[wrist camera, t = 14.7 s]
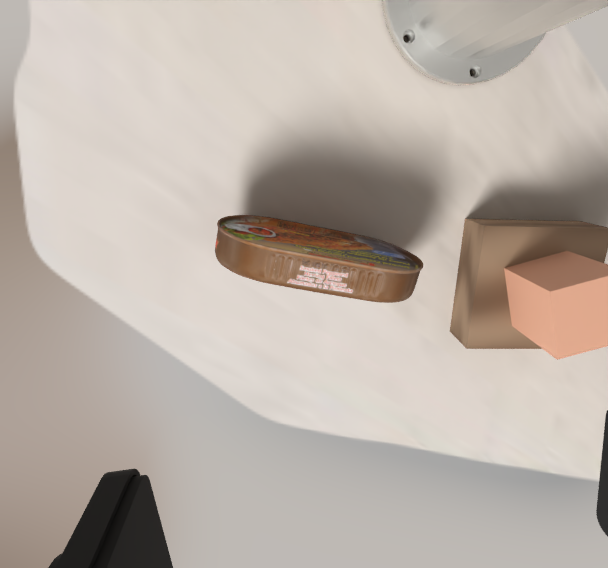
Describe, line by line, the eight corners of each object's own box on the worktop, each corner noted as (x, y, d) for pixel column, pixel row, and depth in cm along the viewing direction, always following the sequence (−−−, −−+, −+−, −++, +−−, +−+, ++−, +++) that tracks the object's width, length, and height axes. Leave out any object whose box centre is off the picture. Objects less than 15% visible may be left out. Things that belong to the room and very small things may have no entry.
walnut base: (463, 218, 37) (484, 225, 33) (577, 220, 38) (612, 228, 34) (448, 329, 40) (466, 348, 36) (554, 329, 41) (583, 348, 37)
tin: (405, 244, 37) (442, 270, 29) (395, 279, 38) (429, 315, 30) (225, 207, 35) (210, 225, 27) (219, 246, 36) (203, 274, 28)
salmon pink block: (504, 268, 34) (550, 291, 29) (567, 250, 34) (626, 271, 28) (511, 326, 36) (557, 359, 30) (572, 309, 36) (629, 340, 30)
